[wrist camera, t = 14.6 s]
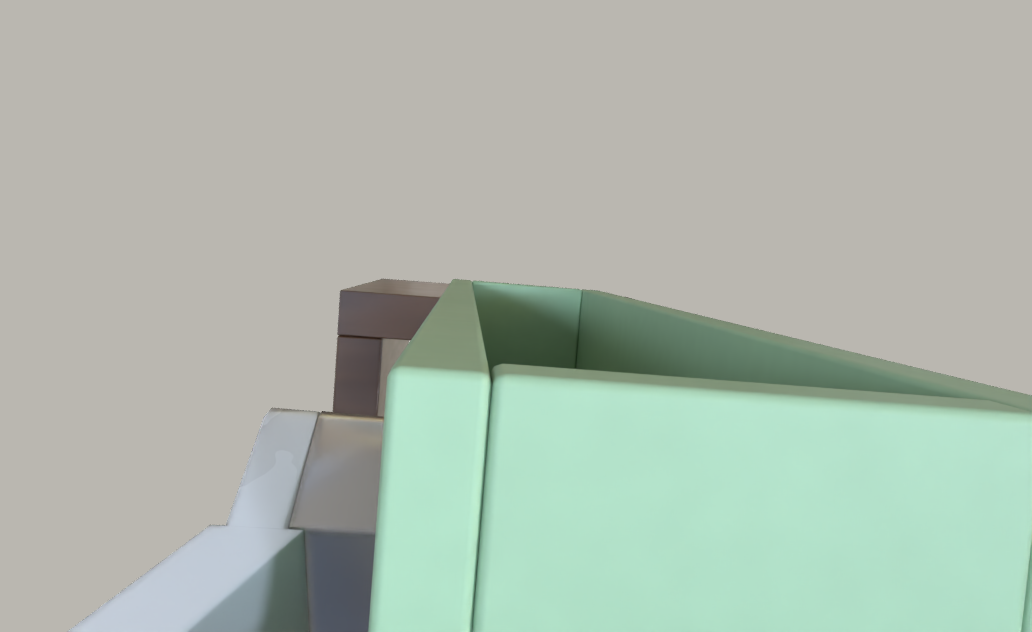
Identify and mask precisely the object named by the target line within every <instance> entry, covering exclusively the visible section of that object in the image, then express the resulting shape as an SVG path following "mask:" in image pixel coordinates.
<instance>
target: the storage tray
mask: <svg viewBox="0 0 1032 632" xmlns="http://www.w3.org/2000/svg"><path fill="white" fill-rule="evenodd" d="M368 632H1032V395H1027V394H1023V393H1019V392H1015V391H1011V390H1006V389H1002V388H998V387H994V386H990V385H986V384H982V383H978V382H974V381H970V380H965V379H961V378H957V377H953V376H949V375H944V374H941V373H936V372H932V371H928V370H924V369H920V368H916V367H912V366H907V365H903V364H899V363H895V362H891V361H887V360H883V359H878V358H874V357H870V356H866V355H862V354H858V353H854V352H849V351H845V350H841V349H837V348H832V347H829V346H825V345H821V344H816V343H812V342H808V341H804V340H800V339H796V338H791V337H788V336H783V335H779V334H775V333H771V332H767V331H763V330H759V329H754V328H750V327H746V326H742V325H738V324H733V323H730V322H725V321H721V320H717V319H713V318H709V317H705V316H700V315H697V314H692V313H688V312H684V311H680V310H676V309H672V308H667V307H663V306H659V305H655V304H651V303H647V302H643V301H639V300H635V299H630V298H626V297H622V296H618V295H614V294H609V293H605V292H601V291H595V290H579V289H570V288H558V287H546V286H533V285H520V284H509V283H496V282H484V281H473V282H471V281H470V280H459V279H453V280H452V282H451V283H450V284H449V286H448V287H447V289H446V290H445V292H444V293H443V295H442V296H441V297H440V299H439V300H438V302H437V303H436V305H435V306H434V308H433V309H432V310H431V312H430V313H429V315H428V316H427V318H426V319H425V321H424V322H423V323H422V325H421V326H420V328H419V329H418V331H417V332H416V334H415V335H414V336H413V338H412V339H411V341H410V342H409V344H408V345H407V347H406V348H405V349H404V351H403V352H402V354H401V355H400V357H399V358H398V360H397V361H396V362H395V364H394V365H393V367H392V368H391V370H390V372H389V374H388V376H387V386H386V399H385V413H384V426H383V440H382V453H381V467H380V480H379V494H378V507H377V521H376V534H375V548H374V561H373V574H372V588H371V601H370V615H369V628H368Z"/></svg>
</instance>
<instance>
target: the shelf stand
mask: <svg viewBox="0 0 1032 632" xmlns="http://www.w3.org/2000/svg"><path fill="white" fill-rule="evenodd" d="M448 286H449V284H445V283H432V282H418V281H406V280H392V279H391V280H390V279H380V280H377V281H373V282H369V283H366V284H362V285H358V286H355V287H351V288H347V289H344V290H341V291H340V302H339V318H338V335H339V336H338V338H337V353H336V368H335V383H334V399H333V400H334V401H333V412H336V413H348V414H359V415H371V416H382V417H384V413H385V399H386V386H387V376H388V374H389V372H390V370H391V368H392V367H393V365H394V364H395V362H396V361H397V360H398V358H399V357H400V355H401V354H402V352H403V351H404V349H405V348H406V347H407V345H408V343H409V340H411V339H412V338H413V336H414V335H415V334H416V332H417V331H418V329H419V328H420V326H421V325H422V323H423V322H424V321H425V319H426V318H427V316H428V315H429V313H430V312H431V310H432V309H433V308H434V306H435V305H436V303H437V302H438V300H439V299H440V297H441V296H442V295H443V293H444V292H445V290H446V289H447V287H448ZM626 298H628V297H626ZM630 299H631V298H630Z"/></svg>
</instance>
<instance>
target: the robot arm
mask: <svg viewBox="0 0 1032 632" xmlns="http://www.w3.org/2000/svg"><path fill="white" fill-rule="evenodd" d="M383 426H384V417H382V416H371V415H359V414H348V413H336V412H325V411H322V412H321V413H320V412H316V411H304V410H292V409H280V408H271V409H270V411H269V412H268V413H267V414H266V415H265V416H264V418H263V421H262V424H261V427H260V429H259V432H258V435H257V438H256V441H255V444H254V447H253V449H252V452H251V455H250V458H249V461H248V464H247V466H246V470H245V472H244V475H243V478H242V481H241V483H240V486H239V489H238V492H237V495H236V498H235V501H234V503H233V506H232V509H231V512H230V515H229V518H228V520H227V523H226V526H225V525H209V526H208V527H207V528H205V529H204V530H203V531H201V532H200V533H199V534H197V535H196V536H195V537H193V538H192V539H190V540H189V541H188V542H186V543H185V544H184V545H182V546H181V547H180V548H178V549H177V550H176V551H174V552H173V553H172V554H170V555H169V556H168V557H166V558H165V559H164V560H162V561H161V562H160V563H158V564H157V565H156V566H154V567H153V568H152V569H151V570H149V571H148V572H147V573H145V574H144V575H142V576H141V577H140V578H138V579H137V580H136V581H134V582H133V583H132V584H130V585H129V586H128V587H127V588H125V589H124V590H122V591H121V592H120V593H118V594H117V595H116V596H114V597H113V598H112V599H110V600H109V601H108V602H106V603H105V604H104V605H102V606H101V607H99V608H98V609H97V610H96V611H94V612H93V613H92V614H90V615H89V616H87V617H86V618H85V619H83V620H82V621H81V622H80V623H78V624H77V625H75V626H74V627H73V628H71V629H70V630H69V631H68V632H368V628H369V615H370V601H371V588H372V574H373V561H374V548H375V534H376V521H377V507H378V494H379V480H380V467H381V453H382V440H383Z"/></svg>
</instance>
